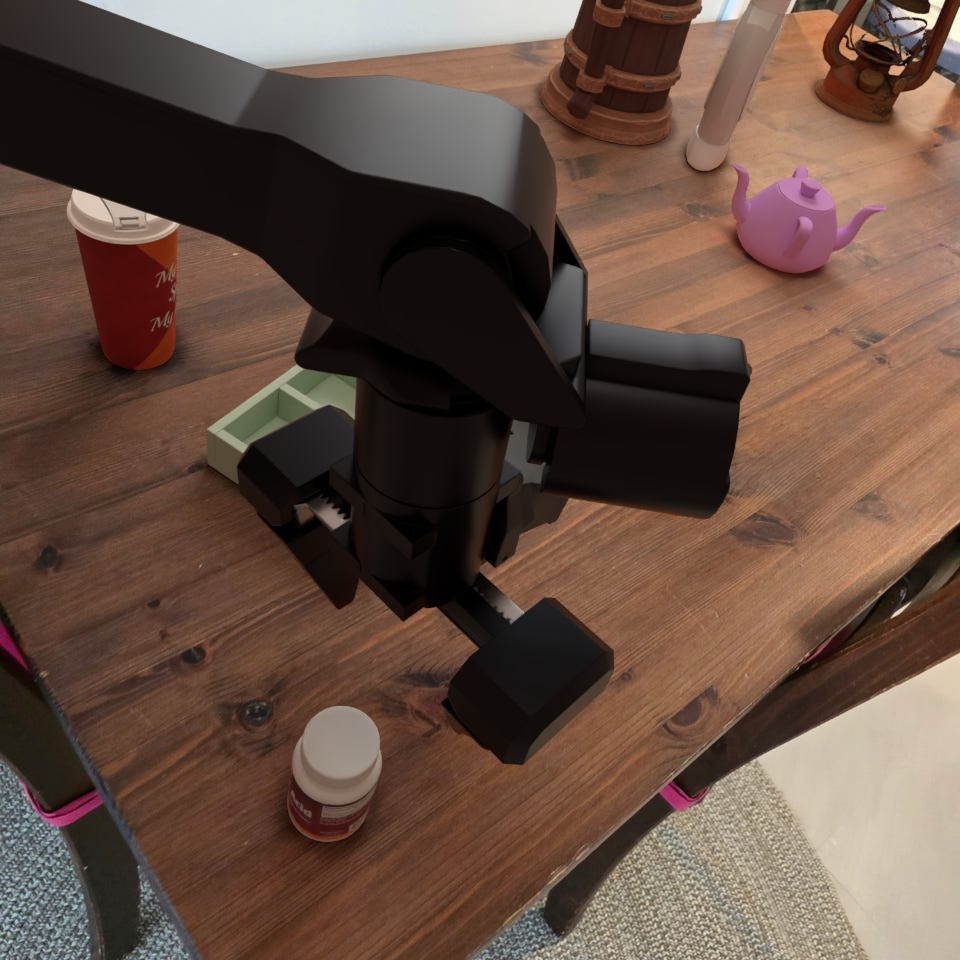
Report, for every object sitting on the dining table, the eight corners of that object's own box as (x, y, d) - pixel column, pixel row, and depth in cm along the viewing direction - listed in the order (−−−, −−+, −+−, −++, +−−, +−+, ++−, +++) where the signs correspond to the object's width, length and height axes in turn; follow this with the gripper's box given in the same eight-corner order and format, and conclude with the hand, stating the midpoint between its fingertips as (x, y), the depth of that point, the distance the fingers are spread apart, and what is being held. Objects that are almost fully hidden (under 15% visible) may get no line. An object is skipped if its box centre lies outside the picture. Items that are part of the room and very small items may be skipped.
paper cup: (196, 373, 72) (190, 225, 62) (94, 384, 69) (69, 229, 59) (179, 312, 76) (171, 164, 66) (82, 319, 73) (58, 165, 63)
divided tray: (207, 463, 66) (206, 428, 63) (377, 335, 80) (383, 301, 77) (360, 568, 63) (366, 535, 60) (511, 415, 76) (521, 383, 74)
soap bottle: (731, 190, 112) (825, -13, 94) (674, 167, 113) (757, -39, 95) (749, 150, 121) (838, -43, 103) (696, 129, 122) (776, -66, 104)
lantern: (799, 97, 137) (907, -126, 115) (806, 69, 146) (908, -144, 124) (904, 136, 136) (1034, -82, 114) (905, 105, 144) (1026, -103, 122)
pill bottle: (278, 775, 52) (284, 710, 46) (356, 755, 54) (373, 689, 48) (296, 855, 49) (306, 797, 43) (378, 831, 51) (399, 771, 45)
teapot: (848, 271, 105) (889, 206, 98) (765, 288, 99) (803, 220, 92) (783, 214, 111) (818, 149, 104) (701, 227, 105) (732, 158, 98)
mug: (501, 113, 113) (541, -58, 98) (573, 63, 128) (617, -93, 113) (630, 173, 110) (691, 5, 95) (688, 114, 125) (749, -39, 110)
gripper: (746, 500, 34) (639, 696, 46) (422, 261, 42) (400, 480, 53) (554, 665, 28) (486, 843, 40) (217, 350, 36) (242, 576, 47)
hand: (401, 662), depth 45 cm, fingers open, 9 cm apart
